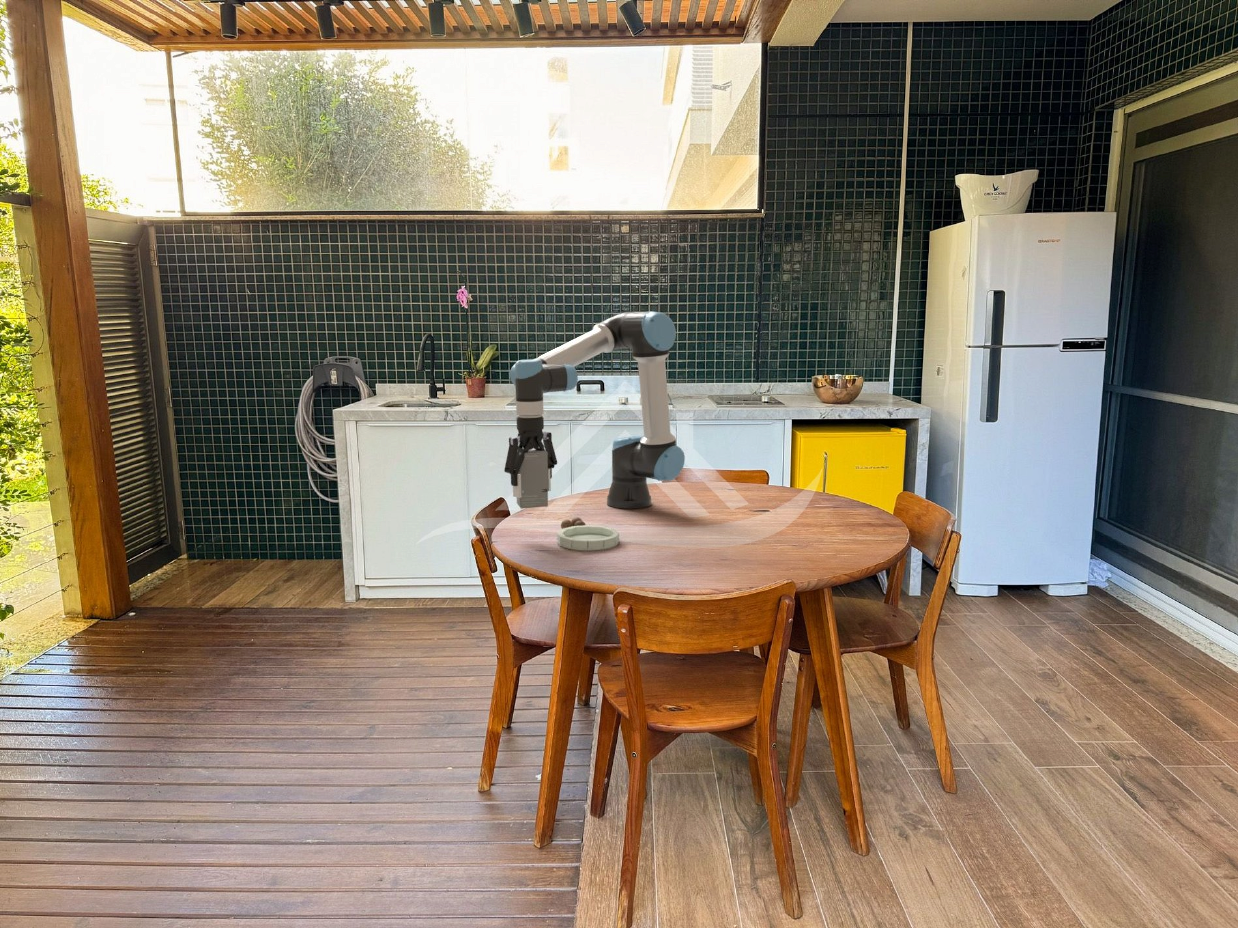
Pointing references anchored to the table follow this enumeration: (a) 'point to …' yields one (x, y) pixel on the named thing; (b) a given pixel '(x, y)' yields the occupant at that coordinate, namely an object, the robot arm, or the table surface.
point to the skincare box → (534, 480)
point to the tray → (588, 538)
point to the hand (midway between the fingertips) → (532, 493)
